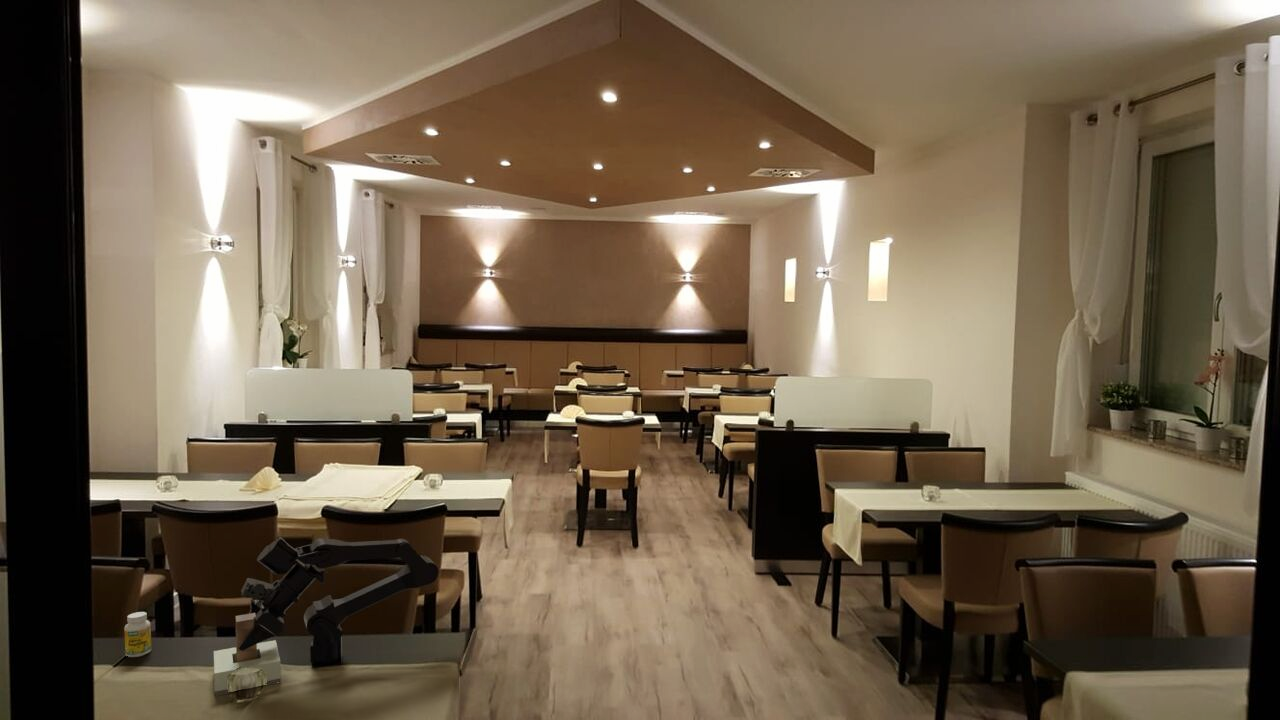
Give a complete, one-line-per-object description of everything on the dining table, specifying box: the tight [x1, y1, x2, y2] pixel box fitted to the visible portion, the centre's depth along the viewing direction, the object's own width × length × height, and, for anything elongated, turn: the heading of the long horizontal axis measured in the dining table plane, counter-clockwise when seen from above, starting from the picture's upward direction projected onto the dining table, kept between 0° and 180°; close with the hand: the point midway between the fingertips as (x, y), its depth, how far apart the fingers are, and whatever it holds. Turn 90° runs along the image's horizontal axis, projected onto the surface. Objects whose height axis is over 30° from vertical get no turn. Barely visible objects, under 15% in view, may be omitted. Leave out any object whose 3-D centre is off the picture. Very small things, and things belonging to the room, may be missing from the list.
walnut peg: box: [235, 613, 257, 663], centre depth 174 cm, size 4×4×13 cm
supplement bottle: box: [123, 611, 152, 658], centre depth 187 cm, size 5×5×10 cm
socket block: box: [213, 639, 282, 697], centre depth 175 cm, size 13×13×5 cm
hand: (239, 641), depth 174 cm, fingers open, 9 cm apart
